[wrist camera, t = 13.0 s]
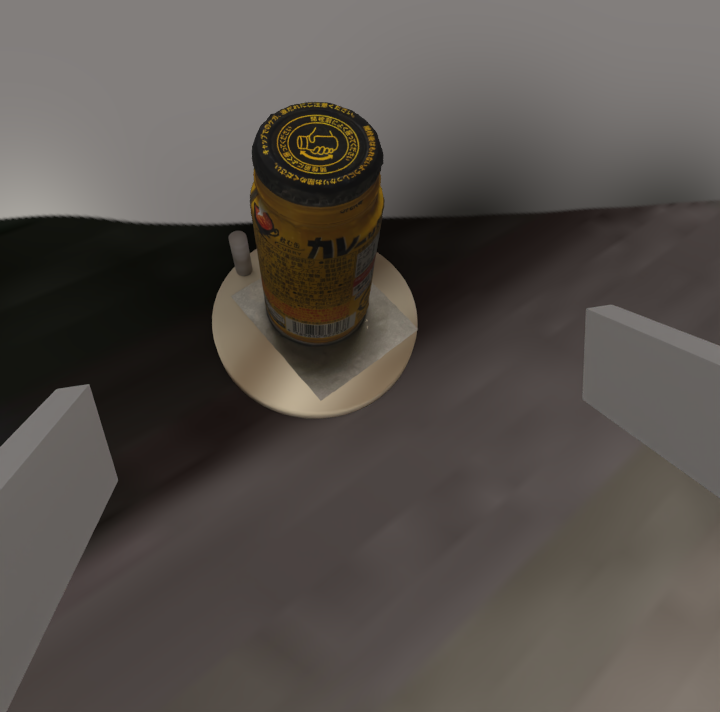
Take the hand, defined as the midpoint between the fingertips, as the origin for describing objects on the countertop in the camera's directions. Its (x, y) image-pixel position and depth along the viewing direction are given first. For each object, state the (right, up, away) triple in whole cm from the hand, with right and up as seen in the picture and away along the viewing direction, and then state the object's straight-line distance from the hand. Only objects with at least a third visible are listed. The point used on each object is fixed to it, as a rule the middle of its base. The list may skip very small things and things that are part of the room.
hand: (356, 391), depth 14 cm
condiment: (-2, +3, +18) cm, 18 cm away
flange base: (-3, +3, +18) cm, 19 cm away
